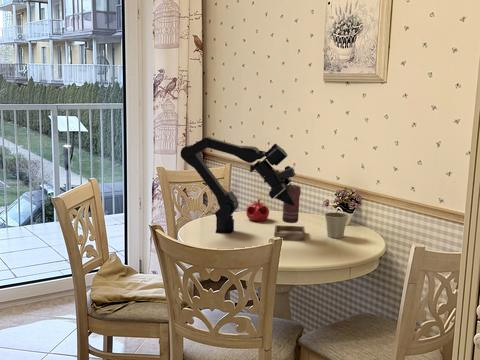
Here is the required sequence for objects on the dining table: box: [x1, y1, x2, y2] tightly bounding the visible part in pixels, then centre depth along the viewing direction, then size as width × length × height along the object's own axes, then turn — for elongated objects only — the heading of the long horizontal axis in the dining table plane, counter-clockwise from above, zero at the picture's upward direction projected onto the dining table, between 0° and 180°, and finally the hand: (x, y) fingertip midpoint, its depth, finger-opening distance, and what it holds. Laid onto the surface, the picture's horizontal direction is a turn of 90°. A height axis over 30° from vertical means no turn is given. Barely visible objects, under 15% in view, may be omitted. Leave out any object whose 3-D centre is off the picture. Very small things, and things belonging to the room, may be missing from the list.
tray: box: [273, 224, 306, 241], centre depth 222 cm, size 12×12×2 cm
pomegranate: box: [245, 198, 270, 222], centre depth 246 cm, size 10×10×9 cm
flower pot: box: [323, 211, 349, 239], centre depth 221 cm, size 9×9×9 cm
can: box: [281, 184, 302, 224], centre depth 218 cm, size 6×6×14 cm
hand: (294, 203), depth 218 cm, fingers closed on can, 5 cm apart
